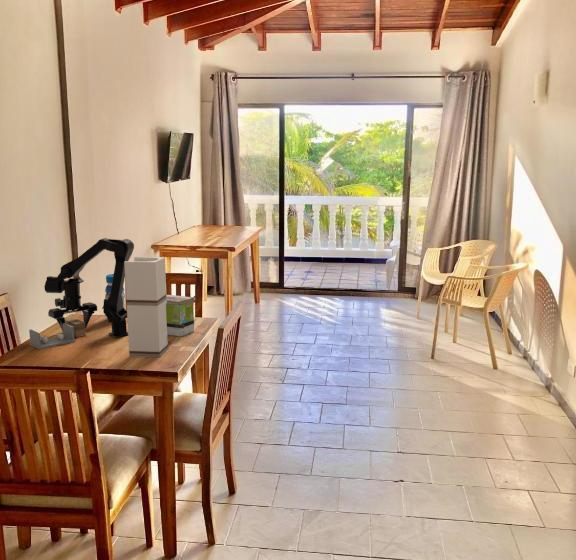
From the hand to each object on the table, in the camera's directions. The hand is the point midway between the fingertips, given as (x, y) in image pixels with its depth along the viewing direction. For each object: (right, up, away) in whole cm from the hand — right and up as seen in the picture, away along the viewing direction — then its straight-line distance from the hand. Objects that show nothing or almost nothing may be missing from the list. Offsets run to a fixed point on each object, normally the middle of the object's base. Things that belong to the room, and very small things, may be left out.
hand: (74, 330), depth 259 cm
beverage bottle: (+11, +3, +23) cm, 26 cm away
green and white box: (+40, -1, +2) cm, 40 cm away
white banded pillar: (+36, -6, -25) cm, 45 cm away
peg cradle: (-4, -4, -13) cm, 14 cm away
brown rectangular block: (0, -1, 0) cm, 1 cm away
